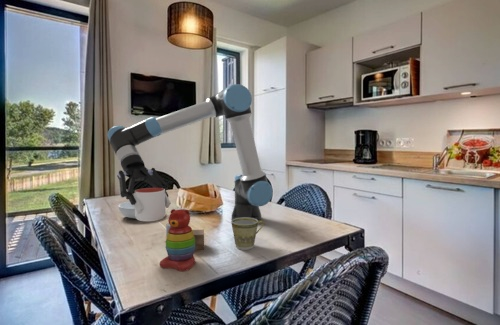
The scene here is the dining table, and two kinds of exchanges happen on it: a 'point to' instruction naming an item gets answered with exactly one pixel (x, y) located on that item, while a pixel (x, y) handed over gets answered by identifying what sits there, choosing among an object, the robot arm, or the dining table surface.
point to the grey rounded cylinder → (167, 228)
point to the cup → (151, 204)
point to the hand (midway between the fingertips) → (155, 208)
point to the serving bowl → (127, 209)
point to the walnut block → (199, 240)
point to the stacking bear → (179, 242)
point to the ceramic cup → (245, 232)
